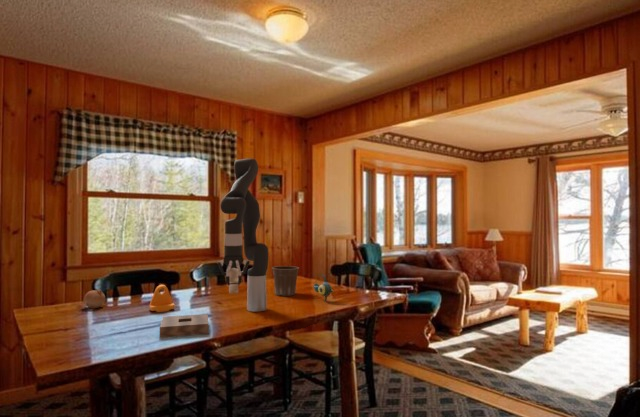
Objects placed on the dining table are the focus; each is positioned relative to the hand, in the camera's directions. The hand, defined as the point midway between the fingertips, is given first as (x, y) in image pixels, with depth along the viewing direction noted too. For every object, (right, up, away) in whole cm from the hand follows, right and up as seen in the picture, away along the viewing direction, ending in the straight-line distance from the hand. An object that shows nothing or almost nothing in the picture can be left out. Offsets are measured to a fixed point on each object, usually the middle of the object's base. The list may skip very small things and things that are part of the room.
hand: (233, 284), depth 167 cm
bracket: (-42, -18, +28) cm, 53 cm away
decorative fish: (+38, -19, +50) cm, 66 cm away
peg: (0, -3, 0) cm, 3 cm away
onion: (-77, -18, +31) cm, 85 cm away
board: (-19, -17, -6) cm, 26 cm away
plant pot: (+16, -19, +69) cm, 73 cm away
